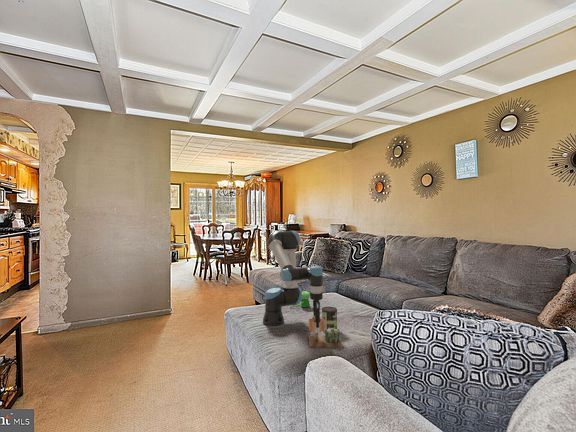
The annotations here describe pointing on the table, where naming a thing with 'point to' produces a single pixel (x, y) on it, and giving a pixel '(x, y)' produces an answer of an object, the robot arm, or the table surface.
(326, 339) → the gear board
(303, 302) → the toy character
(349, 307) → the table surface
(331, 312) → the coffee can
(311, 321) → the loose gear
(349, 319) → the table surface
